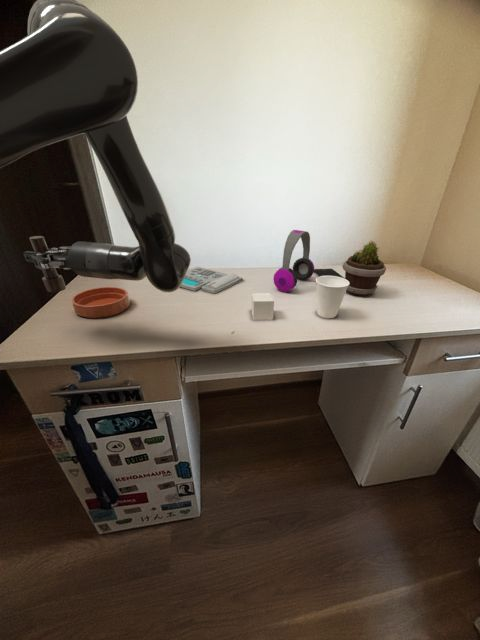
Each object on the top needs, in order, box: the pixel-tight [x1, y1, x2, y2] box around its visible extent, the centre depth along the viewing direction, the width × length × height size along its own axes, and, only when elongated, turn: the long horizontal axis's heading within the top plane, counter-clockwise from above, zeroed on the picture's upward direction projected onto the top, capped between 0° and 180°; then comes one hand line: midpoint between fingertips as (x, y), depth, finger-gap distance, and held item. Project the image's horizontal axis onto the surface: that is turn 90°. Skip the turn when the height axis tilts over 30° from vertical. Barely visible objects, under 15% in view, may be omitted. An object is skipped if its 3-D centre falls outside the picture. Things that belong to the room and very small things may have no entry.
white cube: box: [251, 292, 275, 321], centre depth 86 cm, size 6×6×6 cm
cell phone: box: [313, 268, 345, 279], centre depth 119 cm, size 9×18×1 cm, turn 12°
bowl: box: [70, 286, 131, 319], centre depth 86 cm, size 15×15×4 cm
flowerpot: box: [341, 239, 387, 298], centre depth 101 cm, size 14×15×20 cm
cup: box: [315, 276, 350, 319], centre depth 86 cm, size 10×10×11 cm
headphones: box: [272, 229, 315, 293], centre depth 105 cm, size 21×9×20 cm, turn 148°
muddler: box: [29, 235, 67, 293], centre depth 65 cm, size 4×4×12 cm
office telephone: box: [179, 266, 243, 294], centre depth 109 cm, size 23×3×20 cm
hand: (32, 254), depth 64 cm, fingers closed on muddler, 2 cm apart
